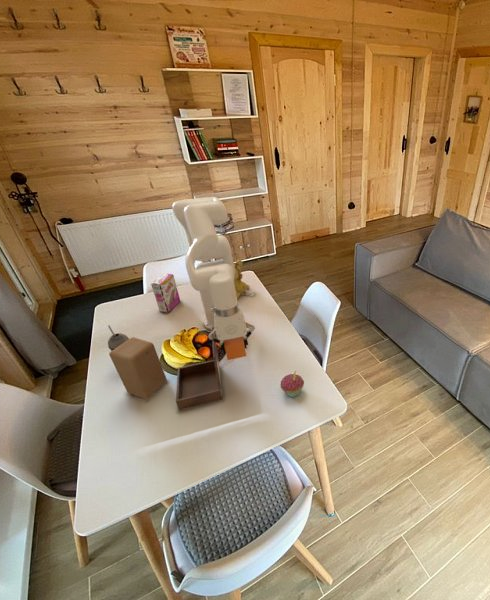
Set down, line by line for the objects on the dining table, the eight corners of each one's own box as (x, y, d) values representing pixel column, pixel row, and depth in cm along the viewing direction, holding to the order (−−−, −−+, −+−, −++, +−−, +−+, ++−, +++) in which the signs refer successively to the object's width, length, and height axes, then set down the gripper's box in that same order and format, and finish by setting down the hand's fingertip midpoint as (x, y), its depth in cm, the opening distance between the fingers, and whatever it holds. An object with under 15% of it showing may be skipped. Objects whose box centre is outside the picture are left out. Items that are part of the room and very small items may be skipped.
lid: (213, 357, 111) (216, 356, 111) (211, 327, 125) (213, 327, 125) (218, 389, 119) (221, 389, 119) (216, 358, 132) (218, 358, 133)
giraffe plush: (212, 286, 190) (205, 256, 179) (255, 284, 194) (251, 254, 183) (206, 306, 173) (197, 273, 162) (253, 303, 177) (248, 271, 166)
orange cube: (246, 356, 123) (243, 342, 119) (227, 360, 120) (224, 346, 117) (244, 345, 128) (241, 331, 124) (226, 348, 126) (223, 335, 122)
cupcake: (308, 388, 128) (307, 365, 122) (296, 403, 122) (294, 380, 115) (289, 380, 131) (287, 357, 125) (276, 395, 125) (273, 372, 118)
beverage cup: (130, 373, 132) (112, 333, 121) (114, 370, 133) (94, 330, 123) (143, 360, 138) (127, 321, 127) (128, 357, 139) (110, 319, 129)
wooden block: (168, 382, 129) (153, 341, 118) (147, 401, 121) (129, 360, 110) (148, 375, 131) (132, 335, 121) (126, 393, 123) (106, 352, 113)
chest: (179, 411, 117) (175, 401, 115) (181, 377, 131) (177, 367, 128) (222, 400, 122) (220, 390, 119) (219, 368, 136) (217, 359, 133)
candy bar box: (168, 313, 167) (159, 284, 158) (159, 312, 168) (149, 283, 159) (181, 301, 176) (173, 273, 168) (172, 300, 177) (164, 272, 168)
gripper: (199, 319, 108) (210, 360, 117) (254, 309, 113) (260, 349, 123) (199, 307, 113) (209, 347, 123) (251, 298, 119) (257, 337, 129)
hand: (235, 348), depth 123 cm, fingers closed on orange cube, 6 cm apart
